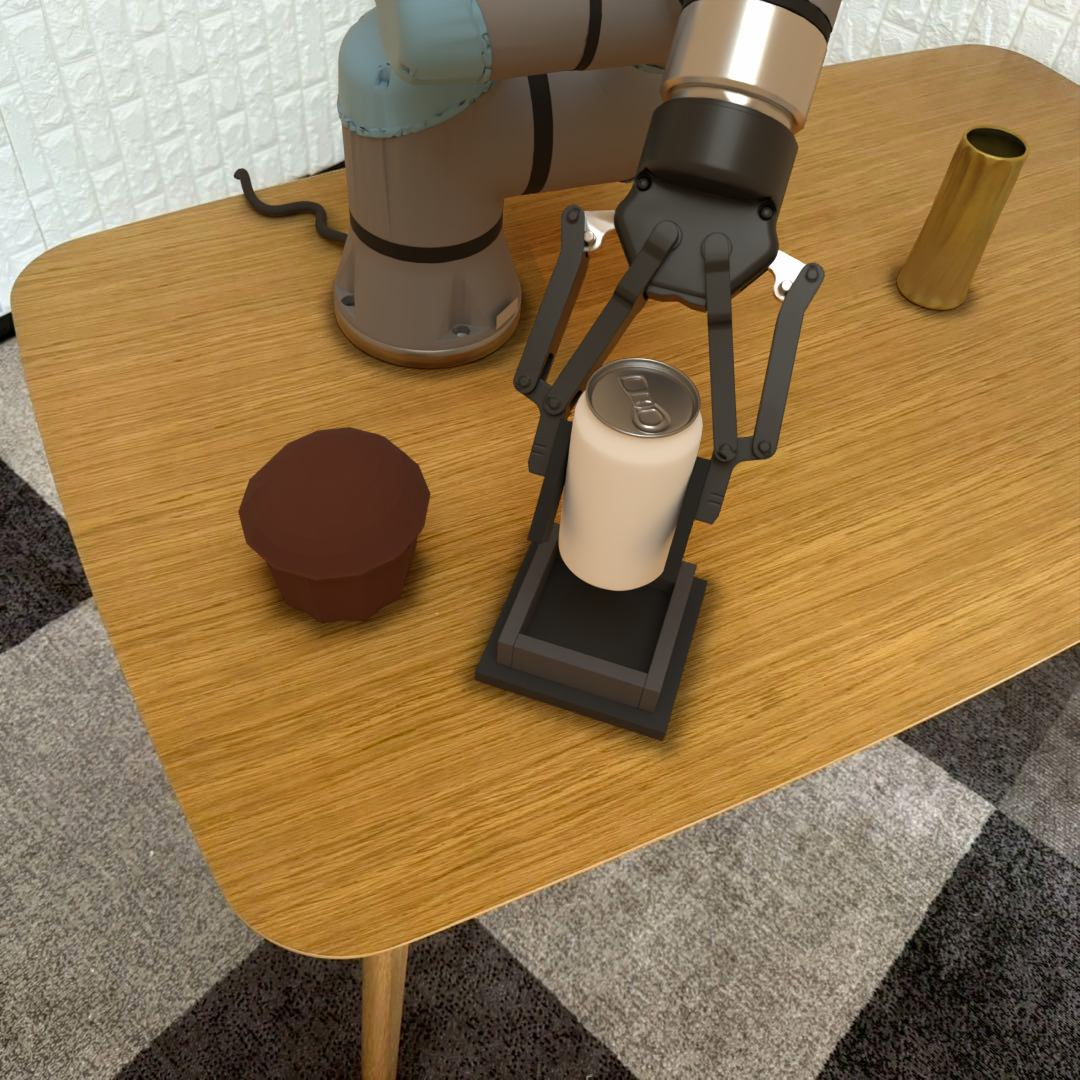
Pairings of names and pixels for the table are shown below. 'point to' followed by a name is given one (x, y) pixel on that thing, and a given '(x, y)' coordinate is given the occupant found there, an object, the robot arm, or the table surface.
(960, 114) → the table surface
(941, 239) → the vase
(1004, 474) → the table surface
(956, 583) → the table surface
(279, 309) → the table surface
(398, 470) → the muffin
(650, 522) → the can
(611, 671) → the socket pad
